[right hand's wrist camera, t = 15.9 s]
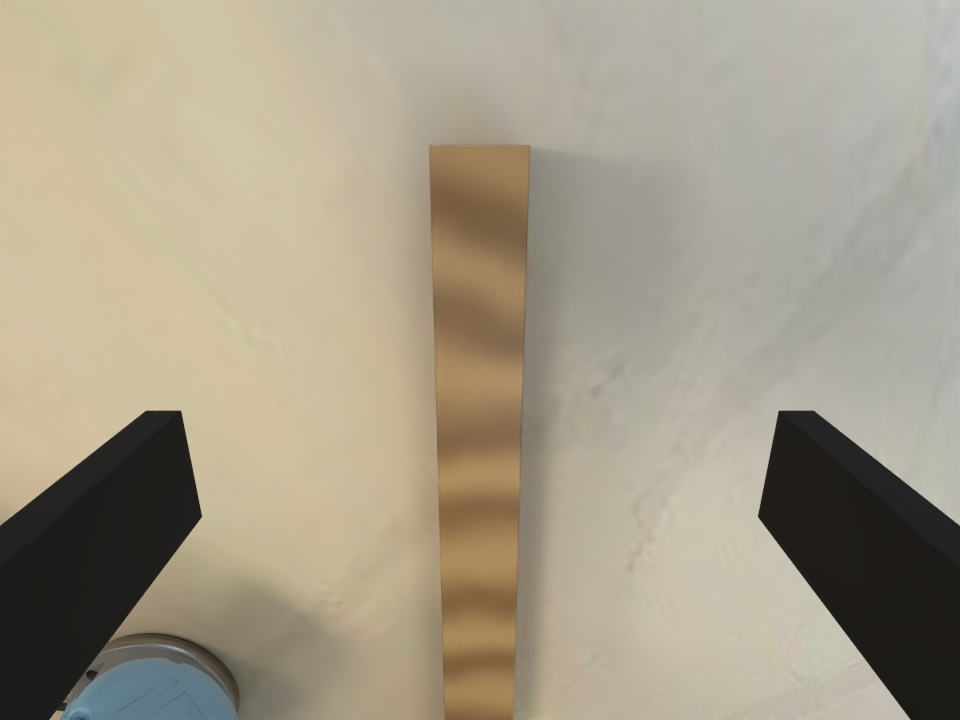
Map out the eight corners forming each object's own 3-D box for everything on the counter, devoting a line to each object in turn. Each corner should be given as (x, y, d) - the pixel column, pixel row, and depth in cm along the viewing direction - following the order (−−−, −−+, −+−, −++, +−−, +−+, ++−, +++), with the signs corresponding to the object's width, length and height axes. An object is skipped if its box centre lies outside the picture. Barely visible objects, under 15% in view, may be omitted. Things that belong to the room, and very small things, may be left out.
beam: (438, 145, 40) (428, 145, 33) (520, 145, 40) (529, 145, 33) (452, 781, 63) (448, 867, 55) (505, 781, 63) (508, 867, 55)
